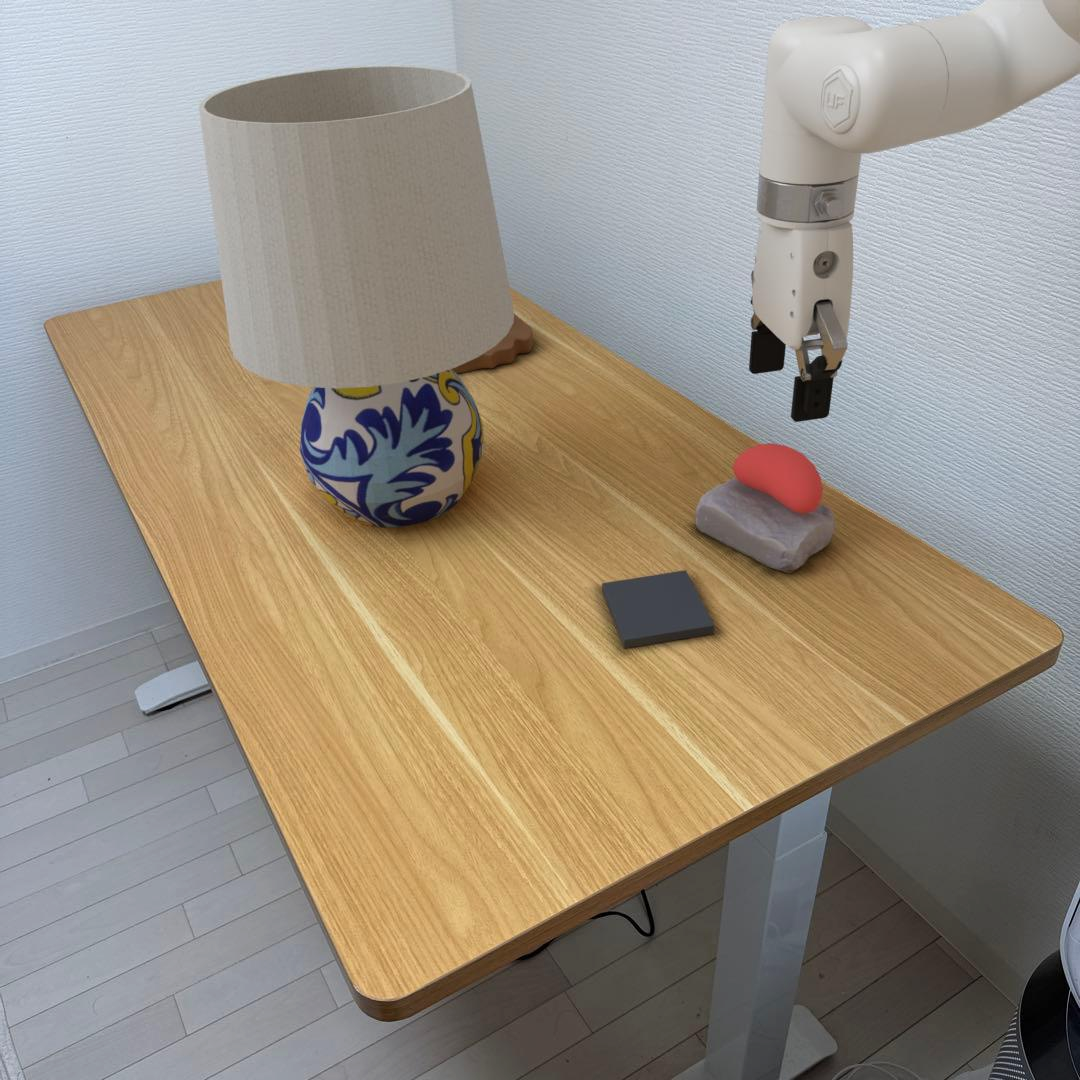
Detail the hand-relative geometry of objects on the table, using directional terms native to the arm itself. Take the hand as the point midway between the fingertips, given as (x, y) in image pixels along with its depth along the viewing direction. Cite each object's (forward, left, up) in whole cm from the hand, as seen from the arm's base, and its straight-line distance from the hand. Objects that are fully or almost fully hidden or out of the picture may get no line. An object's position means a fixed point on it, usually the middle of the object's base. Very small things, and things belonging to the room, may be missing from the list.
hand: (786, 393), depth 85 cm
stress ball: (0, 0, -11) cm, 11 cm away
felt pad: (+14, +9, -15) cm, 23 cm away
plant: (+25, -53, -16) cm, 61 cm away
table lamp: (+35, -17, -16) cm, 42 cm away
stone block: (0, 0, -16) cm, 16 cm away
